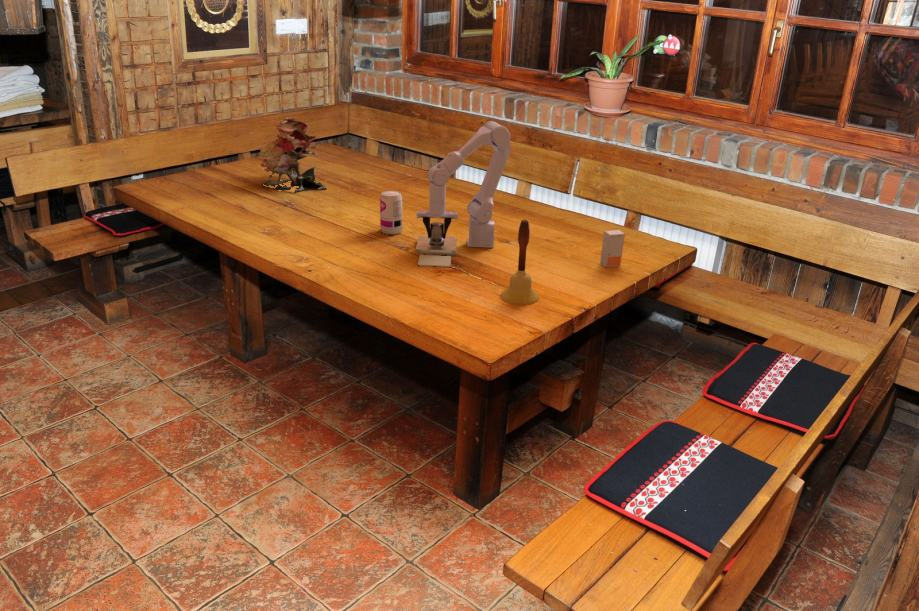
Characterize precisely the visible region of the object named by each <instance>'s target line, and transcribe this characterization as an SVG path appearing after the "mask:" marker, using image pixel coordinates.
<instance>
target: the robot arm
mask: <svg viewBox="0 0 919 611" xmlns="http://www.w3.org/2000/svg"><path fill="white" fill-rule="evenodd" d="M511 138H512V134H511V133H510V131H509V129H508V128H507V126H504V125H502V124H499V123H497V122H496V121H493V120H489V121H487V122H485V123H484V125H482V126H481V127H479V129H478V130H477V132H476V133H475V134H474V135H473V136H471V138H470V139H469V140H467V142H466V143H465V144H464V145H463V146H462V147H461V148H460V149H458V151H454V150H453V151H451V152H448V153H447V154H446V155H447V156H446V157H444V158H443V159H442V160H441V161H440V162H437V164H436V165H434V166H431V167H430V168H429V170H428V172H427V173H426V178H427V179H428V180H429V189H428V190H429V191H428V192H429V202H428V204H429V205H428V208H429V209H428V210H422V211H416V219H422V223H423V225H424V227H425V229H426V233H427V236H428V238H430V224H431V219H444V220H443V224H444V236H443V239H445V237H447V236H446V235H447V232H448V229H449V227H450V226H451V223H452V220H458V218H459V212H452V211H446V203H447V202H446V198H447V197H446V195H447V188H446V187H447V184H448V182H449V181H450V177H451V176H452V175H453V174H454V173H455V172H456V171H458V169H460V168H461V167H462V166H464V164H465V159H467V157H469V156H470V155H471V154H472V153H474V152H475V151H477V150H478V149H479V148H480V147H482V146H484V145H485V146H487V145H491V146H492V150H493V151H494V152H493V154H492V157H491V159H490V162H489V165H488V167H487V169H486V172H485V175H484V178H483V180H482V183H481V185H480V188H479V191H478V192H477V193H476V194H474V195H473V197H472V199H471V201H469V202H468V204H467V206H466V212H467V214H468V215H469V219H468V220H469V221H468V222H469V223H468V237H467V247H468V248H488V249H489V248H491V249H492V248H494V244H495V239H496V238H495V236H496V235H495V221H494V220H492V218H493V209H494V200H493V198H494V196H495V193H496V190H497V188H498V185H499V183H500V180H501V178H502V175H503V172H504V170H505V167H506V165H507V161H508V160H509V157H510V156H511V153H512V150H511V149H512V148H511Z"/></svg>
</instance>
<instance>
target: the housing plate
mask: <svg viewBox="0 0 919 611" xmlns="http://www.w3.org/2000/svg"><path fill="white" fill-rule="evenodd" d="M457 240H458V239H457V236H446V237H445V239H444V240H443V241H442V246H434V245H431V240H430V238H428V235H418V236H417V243H416V245H415V246H416V247H415V255H416V254H425V255H434V256H441V255H447V256H451V257H456V256H457V254H456V253H457V242H458V241H457Z"/></svg>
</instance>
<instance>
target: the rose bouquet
mask: <svg viewBox="0 0 919 611" xmlns="http://www.w3.org/2000/svg"><path fill="white" fill-rule="evenodd" d="M309 127H310V126H308V124H307V123H305V122H302V121H300V120H297V119H296V118H295V117H286V118H284V119H283V118H281V120H280V121H279V124H278V125H276V129H277V130H278V132H279V134H276V137H277V138H276V139H275V140H272V141H267V142H264V144H263V145H262V147H260V148H259V150H260V154H259V155H260V159H262V162H261V163H260V166H261V167H263V168H264V171H265V172H266V173H269V172H272V173H271V174H270V175H269V177H268V179H264V180H263V181H262V182H261V185H262V184H264V185H266V186H269V185H271V186H274V187H275V185H278V186H277V187H276V188H275V189H277V190H290V189H291V187H287V186H286V185H285V186H283V187H282V186H280V185H279V184H282V185H284V184H283V183H286V182H288V181H292V186H299V189H298V188H297V190H295V193H297V192H302V190H305V191H308V190H307V189H308V188H306V187H304V185H318V186H320V187H318V188H317V190H326V189H325V188H324V187H325V185H324V184H323V183H322V182H318V183H316V182H317V181H316V176H315V175H316V174H315V169H316V167H317V166H316V167H311V168H309V169H306V170H305V171H304V172H302V173H301V171H300V170H301V168H300V165H301V162H300V163H299V162H298V161H299V160H302V159H304V158H307V155H314V156H318V153H316V152H315V151H312V150H307V149H309V147H310V145H311V143H312V142H313V141H314V140H315V139H316V136H315V135H312V136H311V135H309V134H306V133H308V130H309ZM311 148H313V149H315V148H317V146H312V147H311ZM274 174H277V175H278V178H277V179H271V178H273V175H274ZM283 175H286V176H287V177H288V179H289V180H288V179H287V178H286V179H287V180H283V181H280V179H282V177H283ZM314 181H315V182H314ZM322 184H323V185H324V186H323V185H322Z"/></svg>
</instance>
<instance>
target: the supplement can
mask: <svg viewBox="0 0 919 611" xmlns="http://www.w3.org/2000/svg"><path fill="white" fill-rule="evenodd" d="M379 222H380V225H379V226H380V232H381V233H382V232H383V233H382V234H384V233H386V234H385V235H388V234H394V235H398V233H399V234H400V233H401V232H403V196H402V194H401V192H400V191H397V190H384V191H382V192H381V194H380V196H379Z"/></svg>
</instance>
